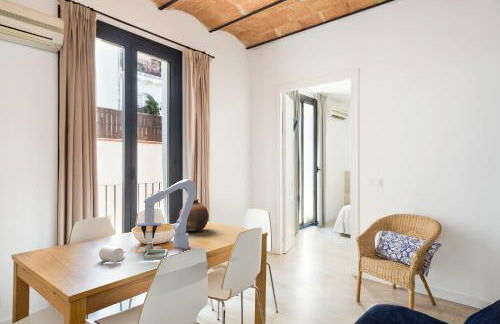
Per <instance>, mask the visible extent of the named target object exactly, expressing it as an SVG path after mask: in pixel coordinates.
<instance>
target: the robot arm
mask: <svg viewBox="0 0 500 324" xmlns="http://www.w3.org/2000/svg"><path fill="white" fill-rule="evenodd" d="M177 190H185V192H186V194H187V196H186V199H185V202H184V204H183V206H182V208H183V209H182V208H181V209H182V212H181V214H180V217H179V216H178V219H177V220H176V222H175V223H174V225H173V229H174V233H173V248H177V249H179V248H180V249H182V250H185V249H186V250H187V249H189V245H190V242H189V239H190V238H189V235H190V234H189V233H188V232H187V231H186V225H187V218H188V215H189V213H190V210H191V207H192V204H193V202H194V200H196V199H195V198H196V195H197V192H196V184H195V183H194V181H193V180H192V179H188V178H184V179H182V180H180V181H178V182H176V183H174V184H172V185H170V186H169V187H167V188H166V189H164V190H163V189H158V190H157V192H155V193H153V194H152V193H151V194H150V196H146V197H145V198H144V201H143V202H144V204H145V205H144V222H137V223H136V227H137V228H138V227H140V230H141V232H142V234H143V238H144V240H145V231H146V230H147V228H148V227H152V228H151V230H152V231H153V234H152V238H153V239H155V233H156V231H157V229H158V227H162V226H163V225H162V224H163V223H162V222H155V212H156V211H155V205H156V204H157V203H159V202H160V201H162V200H164V199H166V198H167V195H170V194H171V193H173V192H175V191H177Z"/></svg>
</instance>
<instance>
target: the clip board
mask: <svg viewBox="0 0 500 324" xmlns="http://www.w3.org/2000/svg"><path fill="white" fill-rule="evenodd" d="M162 247H163V246H161V245H160V246H154V241H153V242H152V243H146V245H145V246H138V247H137V249H136V250H135V253H146V252H147V250H154V249H162Z"/></svg>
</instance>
